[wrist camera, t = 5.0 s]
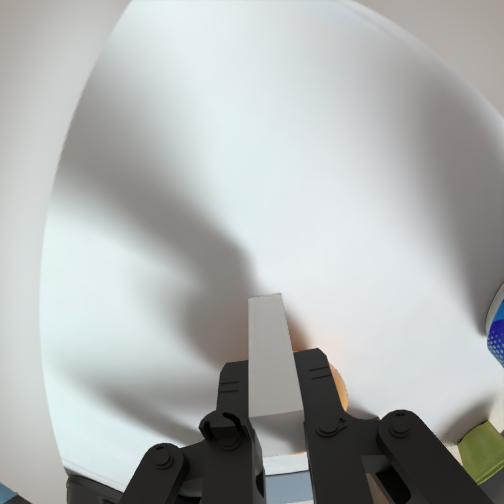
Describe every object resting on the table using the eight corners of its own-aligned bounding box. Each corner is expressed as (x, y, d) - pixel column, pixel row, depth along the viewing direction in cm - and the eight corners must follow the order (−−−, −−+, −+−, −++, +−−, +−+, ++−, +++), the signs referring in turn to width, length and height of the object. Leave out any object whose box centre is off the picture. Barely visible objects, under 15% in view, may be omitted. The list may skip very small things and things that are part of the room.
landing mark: (257, 504, 28) (257, 505, 28) (238, 477, 23) (238, 479, 23) (346, 491, 27) (346, 492, 27) (357, 460, 23) (357, 461, 22)
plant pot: (440, 449, 25) (459, 493, 17) (493, 406, 22) (518, 448, 14) (455, 453, 27) (471, 490, 19) (499, 417, 24) (519, 452, 16)
